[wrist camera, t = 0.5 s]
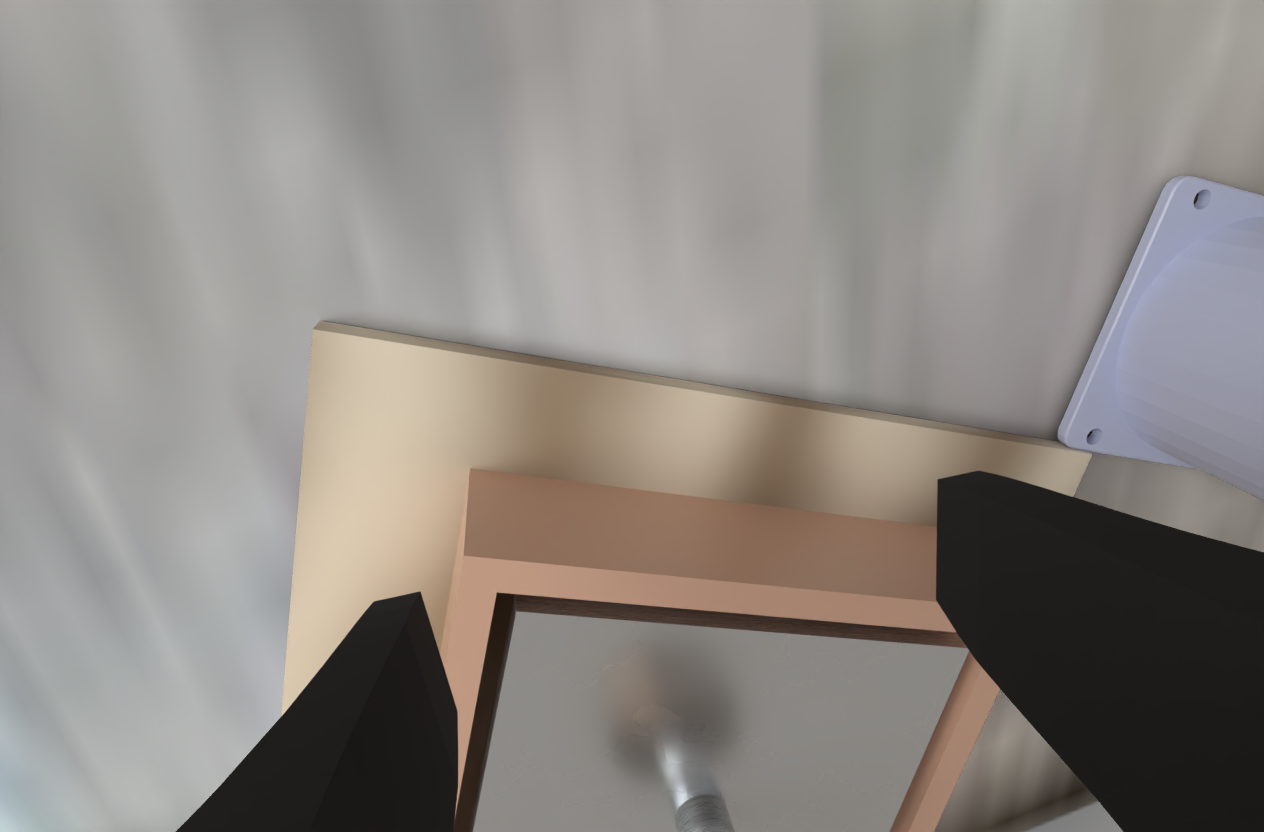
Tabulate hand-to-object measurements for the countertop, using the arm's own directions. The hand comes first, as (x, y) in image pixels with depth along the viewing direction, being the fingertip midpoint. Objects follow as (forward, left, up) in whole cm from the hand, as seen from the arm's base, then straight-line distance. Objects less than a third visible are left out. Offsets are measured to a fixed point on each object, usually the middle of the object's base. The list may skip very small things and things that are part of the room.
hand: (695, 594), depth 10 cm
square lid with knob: (-4, +10, -6) cm, 12 cm away
